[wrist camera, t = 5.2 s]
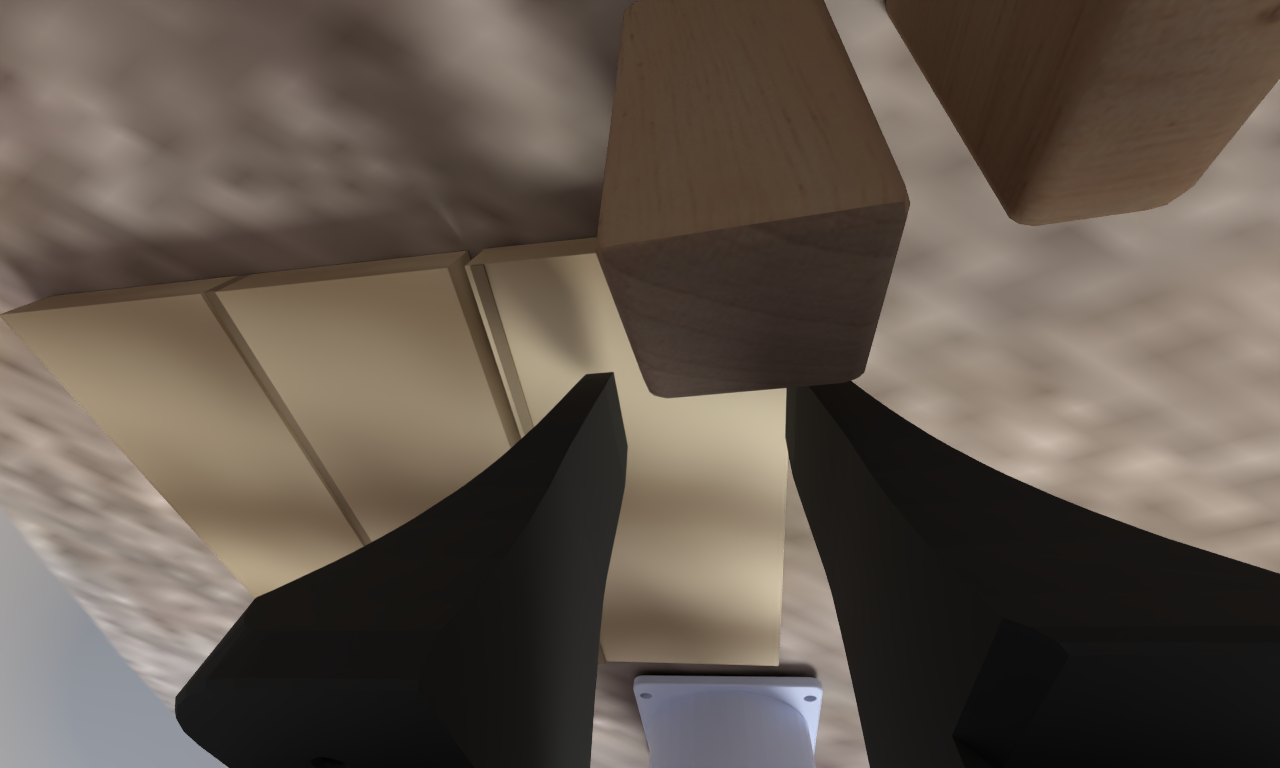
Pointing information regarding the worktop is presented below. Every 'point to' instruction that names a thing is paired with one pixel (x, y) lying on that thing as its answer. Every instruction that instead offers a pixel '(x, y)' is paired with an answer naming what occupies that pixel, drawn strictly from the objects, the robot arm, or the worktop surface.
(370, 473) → the floor panel
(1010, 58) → the wooden block set
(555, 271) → the oak plank
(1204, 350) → the worktop surface
